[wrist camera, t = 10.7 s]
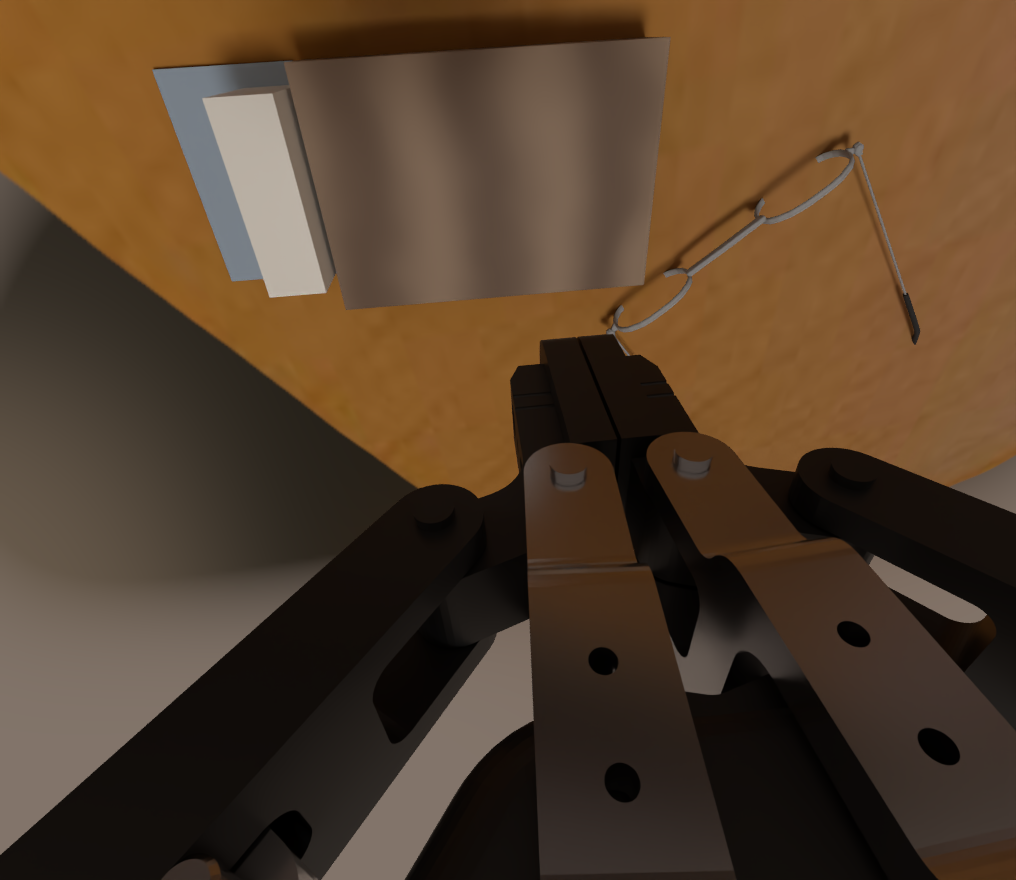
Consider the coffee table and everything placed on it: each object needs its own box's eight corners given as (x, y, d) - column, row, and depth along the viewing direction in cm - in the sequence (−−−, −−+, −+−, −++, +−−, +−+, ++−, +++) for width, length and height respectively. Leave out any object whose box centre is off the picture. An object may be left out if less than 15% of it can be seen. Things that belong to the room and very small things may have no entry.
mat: (293, 60, 27) (291, 60, 27) (344, 270, 34) (343, 272, 34) (154, 69, 27) (152, 69, 27) (233, 279, 34) (232, 281, 33)
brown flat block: (645, 37, 28) (670, 37, 25) (626, 262, 35) (643, 284, 32) (302, 59, 27) (283, 62, 24) (355, 284, 35) (345, 309, 31)
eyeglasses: (838, 129, 32) (881, 141, 29) (909, 336, 42) (947, 361, 39) (595, 316, 38) (609, 342, 35) (708, 458, 48) (727, 488, 45)
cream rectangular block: (272, 93, 23) (201, 98, 23) (326, 292, 28) (269, 297, 28) (302, 84, 28) (244, 87, 28) (343, 256, 33) (295, 260, 33)
